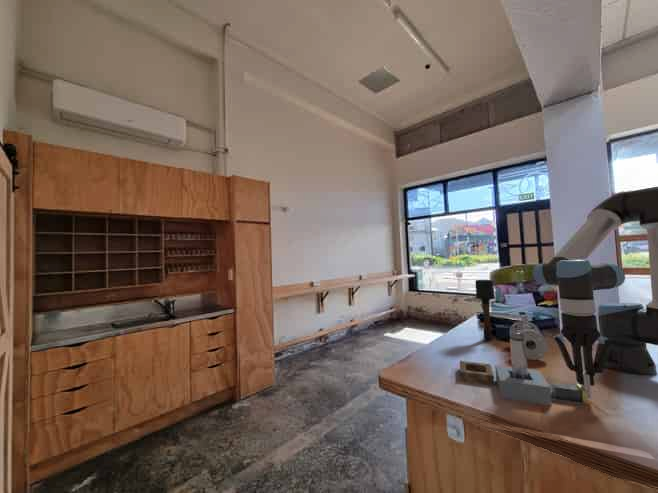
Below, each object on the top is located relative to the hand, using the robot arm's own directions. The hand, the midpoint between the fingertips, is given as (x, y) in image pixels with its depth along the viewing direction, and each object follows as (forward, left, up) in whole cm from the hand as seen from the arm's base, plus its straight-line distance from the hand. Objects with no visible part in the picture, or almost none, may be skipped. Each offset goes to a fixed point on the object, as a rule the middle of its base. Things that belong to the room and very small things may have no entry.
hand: (586, 396), depth 77 cm
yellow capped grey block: (+4, 0, -2) cm, 5 cm away
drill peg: (+16, 0, -1) cm, 16 cm away
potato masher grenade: (+20, -56, -3) cm, 60 cm away
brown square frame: (+28, -7, -2) cm, 29 cm away
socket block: (+12, 0, -2) cm, 12 cm away
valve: (+6, -44, -3) cm, 45 cm away
